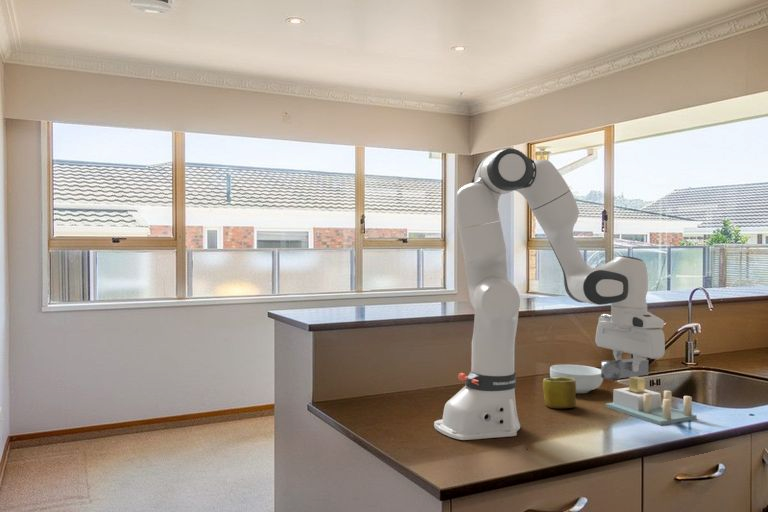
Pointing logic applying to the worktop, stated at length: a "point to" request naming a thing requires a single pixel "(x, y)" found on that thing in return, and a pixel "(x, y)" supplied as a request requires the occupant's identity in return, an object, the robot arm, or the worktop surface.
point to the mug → (559, 392)
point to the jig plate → (653, 415)
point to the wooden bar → (637, 385)
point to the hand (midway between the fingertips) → (627, 369)
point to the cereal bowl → (579, 376)
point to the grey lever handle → (622, 369)
